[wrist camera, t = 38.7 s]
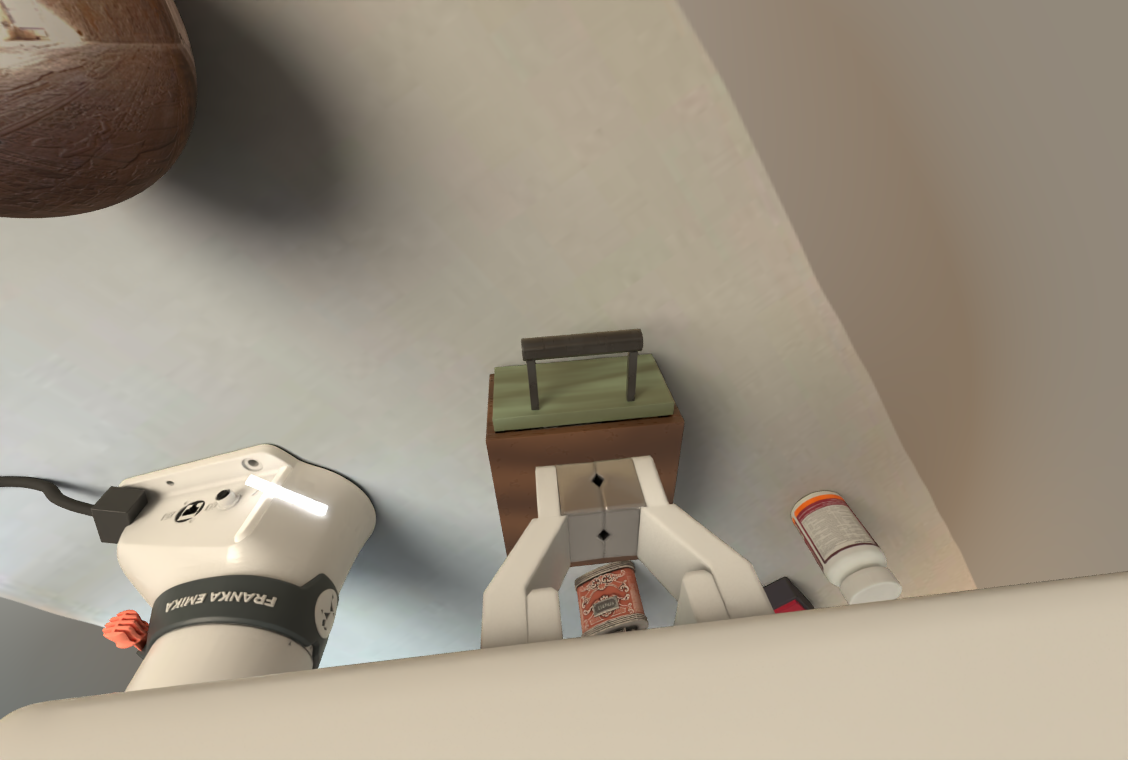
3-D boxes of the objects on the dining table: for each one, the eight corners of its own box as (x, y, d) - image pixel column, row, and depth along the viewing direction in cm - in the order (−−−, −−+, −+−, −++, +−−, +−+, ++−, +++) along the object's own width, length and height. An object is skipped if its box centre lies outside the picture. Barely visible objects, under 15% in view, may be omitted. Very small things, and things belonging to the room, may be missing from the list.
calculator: (828, 630, 66) (735, 675, 69) (810, 602, 69) (723, 646, 73) (800, 601, 60) (701, 651, 64) (783, 571, 64) (689, 621, 67)
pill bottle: (831, 521, 57) (893, 611, 48) (782, 525, 57) (836, 617, 47) (848, 486, 54) (919, 576, 44) (797, 490, 53) (858, 582, 44)
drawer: (484, 303, 35) (480, 350, 30) (656, 290, 36) (683, 332, 31) (513, 493, 48) (514, 550, 42) (641, 480, 48) (658, 534, 43)
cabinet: (489, 374, 40) (485, 440, 33) (655, 359, 41) (684, 421, 34) (509, 501, 49) (510, 573, 43) (644, 487, 50) (665, 556, 43)
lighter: (627, 555, 57) (647, 639, 49) (638, 569, 59) (659, 652, 51) (569, 579, 59) (579, 664, 51) (581, 591, 61) (593, 675, 52)
